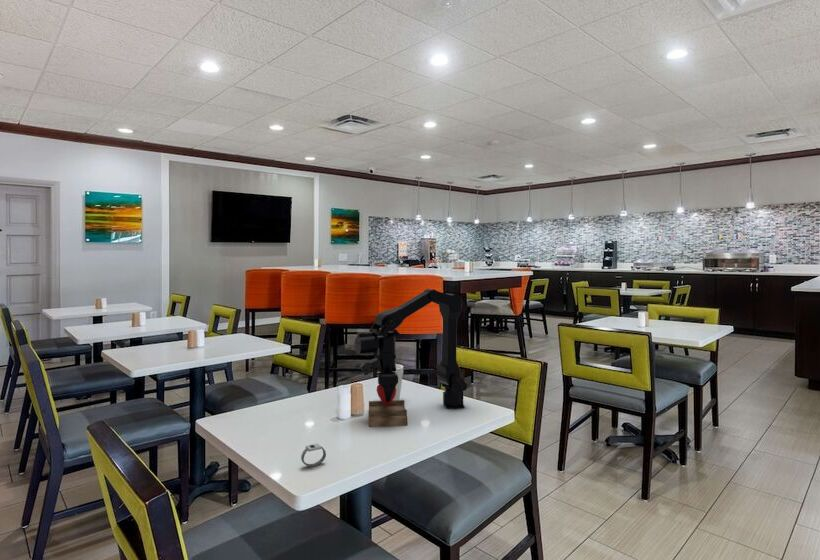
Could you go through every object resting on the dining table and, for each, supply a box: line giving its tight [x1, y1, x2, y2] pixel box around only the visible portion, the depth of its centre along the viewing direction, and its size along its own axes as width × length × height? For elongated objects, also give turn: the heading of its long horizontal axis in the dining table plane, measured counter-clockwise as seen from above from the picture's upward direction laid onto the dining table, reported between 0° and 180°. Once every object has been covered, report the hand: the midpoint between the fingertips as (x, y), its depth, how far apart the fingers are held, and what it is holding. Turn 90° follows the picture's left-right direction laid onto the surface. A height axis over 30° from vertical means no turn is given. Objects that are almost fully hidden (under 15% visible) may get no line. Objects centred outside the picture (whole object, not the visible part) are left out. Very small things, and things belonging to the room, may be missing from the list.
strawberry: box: [376, 384, 396, 406], centre depth 155 cm, size 6×8×10 cm
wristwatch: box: [300, 443, 327, 468], centre depth 119 cm, size 6×3×5 cm, turn 121°
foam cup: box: [377, 363, 404, 400], centre depth 172 cm, size 10×9×13 cm
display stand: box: [368, 399, 408, 428], centre depth 155 cm, size 12×16×4 cm
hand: (387, 398), depth 155 cm, fingers closed on strawberry, 7 cm apart
